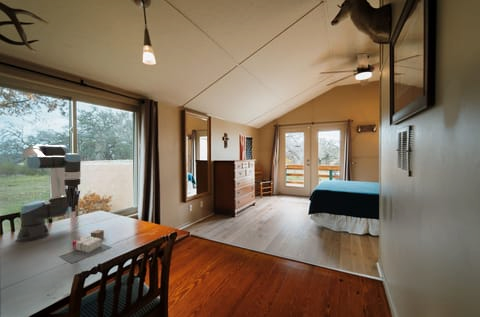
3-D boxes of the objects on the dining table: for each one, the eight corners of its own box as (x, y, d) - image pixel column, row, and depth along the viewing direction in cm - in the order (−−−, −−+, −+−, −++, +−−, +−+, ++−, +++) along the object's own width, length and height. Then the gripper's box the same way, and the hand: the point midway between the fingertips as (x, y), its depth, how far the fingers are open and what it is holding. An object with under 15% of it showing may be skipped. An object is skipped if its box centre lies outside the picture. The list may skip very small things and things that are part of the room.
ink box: (71, 249, 116) (87, 253, 114) (72, 241, 116) (88, 245, 113) (86, 242, 125) (101, 246, 122) (86, 235, 124) (101, 238, 122)
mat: (59, 256, 110) (59, 256, 110) (98, 242, 128) (98, 242, 128) (71, 263, 103) (71, 262, 103) (111, 247, 121) (111, 247, 121)
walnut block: (90, 239, 131) (90, 232, 131) (97, 236, 136) (97, 229, 136) (97, 240, 130) (97, 233, 130) (103, 237, 135) (103, 230, 135)
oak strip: (61, 255, 111) (61, 254, 111) (96, 243, 127) (96, 242, 127) (62, 256, 110) (62, 255, 110) (97, 243, 126) (97, 242, 126)
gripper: (59, 178, 121) (59, 216, 122) (70, 180, 115) (70, 220, 116) (74, 177, 128) (74, 212, 129) (85, 179, 122) (84, 216, 123)
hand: (72, 216), depth 123 cm, fingers closed
